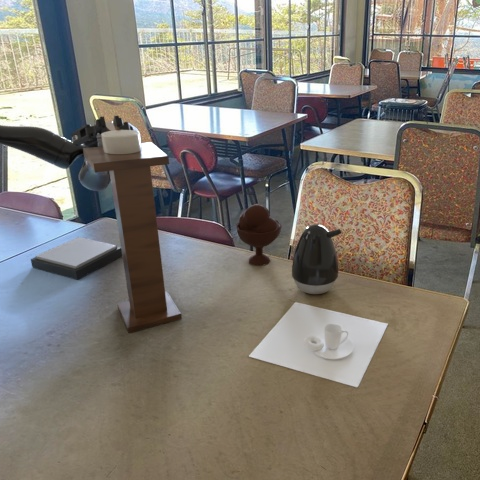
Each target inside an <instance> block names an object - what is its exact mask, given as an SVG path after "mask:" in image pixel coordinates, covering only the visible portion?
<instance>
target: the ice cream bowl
mask: <svg viewBox="0 0 480 480" xmlns="http://www.w3.org/2000/svg"><path fill="white" fill-rule="evenodd" d="M238 217H239V218H238V222H236V223H235V225H234V226H235V229H236V231H237V235H238V237H239V239H240V241H242V242H243V243H244V244H245V245H248V246H250V247H253V248H255V253H254V254H252V255H251V256H249V257H248V259H247V262H248V264H250V265H252V266H256V267H257V266H260V267H262V266H265V265H268V264H269V263H270V262H271V258H270V256H269V255H266V254H265V253H264V252H263V251H264V250H263V249H264V247H267V246H269V245H271V244H272V243H273V242H274V241H275V240H276V239H277V238H278V237H279V236H280V234H281V232H282V228H283V227H282V226H283V225H282V224H281V222H280V220H277V219H275V218H273V217H272V216H270V210H269V209H268V208H267V207H265V206H264V205H263V204H259V203H256V204H252V205H250V206H248V207H247V208H246V209H245V210H243V211H242V212H241V213H240V215H239V216H238Z"/></svg>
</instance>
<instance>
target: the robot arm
mask: <svg viewBox="0 0 480 480" xmlns="http://www.w3.org/2000/svg"><path fill="white" fill-rule="evenodd" d="M105 122H106V119H105V116H99V118H97V119H96V120H95V122H94V124H93V125H91V124H85V125H82V126H81V127H80V128H78V129H76V130H75V131H73V132H72V133H70V137H71V140H70V139H68V138H66V137H64V136H61V135H60V134H57V133H56V132H53V131H51V130H49V129H46V128H42V127H38V126H31V125H30V126H28V125H27V126H26V125H19V126H18V125H17V126H16V125H15V126H14V125H3V124H2V125H1V124H0V145H3V146H6V147H9V148H12V149H15V150H17V151H21V152H24V153H26V154H29V155H31V156H33V157H36V158H37V159H40V160H42V161H44V162H46V163H49V164H51V165H54V166H55V167H57V168H60V169H62V170H67V169H69V168H70V167H71V166H72V165H73V164H74V162H75V161H76V160H78V159H84V161H83V163H82V165H81V168H80V170H79V173H78V180H79V182H80V184H81V185H82V186H83V187H84V188H86V189H87V190H88V191H92V192H102V191H104V190H106V189H107V188H108V187H109V185H110V184H111V179H110V172H109V171H104V172H94V170H93V169H92V167H91V166H90V164H89V163H88V161H87V160H86V158H85V157H84V152H83V148H91V147H102V146H103V145H102V138H101V134H102V133H104V132H106V131H105V130H106V123H105ZM112 122H113V123H114V124H115V125H116V126H118V127H119V128H120V129H121V130H134V131H138V132H139V129H138V128H137V127H136V126H134V125H133V124H131V123H130V122H129V121H123V118H122V117H120V116H119V115H114V116H113V121H112Z"/></svg>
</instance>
